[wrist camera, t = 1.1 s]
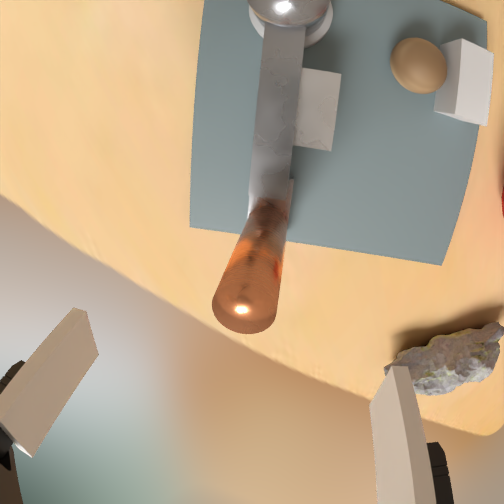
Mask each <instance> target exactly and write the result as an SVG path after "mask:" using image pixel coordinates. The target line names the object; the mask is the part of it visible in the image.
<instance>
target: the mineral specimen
mask: <svg viewBox="0 0 504 504" xmlns="http://www.w3.org/2000/svg"><path fill="white" fill-rule="evenodd" d="M503 334H504V327H503V326H501V325H500V324H499V322H492V323H489V324H487V325H485V326H484V327H483V329H481V330H480V329H471V328H467V329H465V330H461V331H458V332H454V333H452V334H450V335H438V336H435V337H433V338H432V339H431V340H430V341H429V343H428V345H427V346H425V347H424V346H420V347H413V348H411V349H408V350H404V351H403V352H399V353H398V355H397V359H396V360H394V361H393V362H392V363H391V364H389V365H387V366H385V367H384V371H385V376H386V375H387V373H388V372H389V370H390V368H391V366H408V369H409V373H410V376H411V380H412V384H413V387H414V391H415V394H425V395H441V394H446V393H449V392H451V391H453V390H454V389H455V387H456V386H460V385H461V384H463V383H465V382H467V383H468V382H469V381H470V382H474V381H476V382H481V381H482V380H484V378H486V377H488V376H489V375H490V374H491V373H492V371H493V369H494V366H495V363H496V361H497V359H498V356H499V353H500V349H499V348H500V345H499V343H498V341H499V340H500V338H501V337H502V336H503Z"/></svg>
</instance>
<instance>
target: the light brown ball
mask: <svg viewBox="0 0 504 504" xmlns="http://www.w3.org/2000/svg"><path fill="white" fill-rule="evenodd" d="M390 67H391V71H392V73H393V75H394V77H395V79H396V80H397V81H398V82H399V83H400V85H402V86H403V87H404V88H406V89H407V90H409V91H411V92H414V93H418V94H429V93H432V92H435V91H437V90H438V89H439V88H440V87H441V86H442V85H443V84H444V82H445V80H446V77H447V64H446V60H445V58H444V56H443V54H442V53H441V51H440V50H439V49H438V48H437V47H436V46H435V45H434V44H432V43H431V42H429V41H427V40H424V39H421V38H407V39H404V40H402V41H400V42H399V43H398V44H396V45H395V47H394V48H393V50H392V52H391V55H390Z"/></svg>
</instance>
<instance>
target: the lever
mask: <svg viewBox="0 0 504 504" xmlns="http://www.w3.org/2000/svg"><path fill="white" fill-rule="evenodd" d="M247 2H248V3H249V5H250V7H251V9H252V10H253V12H254V14H255V16H256V17H257V19H258V21H259V23H260V24H261V25H262V26H263V28H264V37H263V47H262V57H261V67H260V77H259V87H258V97H257V107H256V117H255V128H254V138H253V149H252V159H251V170H250V181H249V192H248V195H249V206H248V217H247V222H246V224H245V226H244V228H243V231H242V233H241V235H240V238H239V240H238V242H237V244H236V247H235V249H234V251H233V253H232V256H231V258H230V260H229V263H228V265H227V267H226V269H225V272H224V274H223V276H222V279H221V281H220V283H219V286H218V288H217V290H216V292H215V295H214V297H213V300H212V309H213V312H214V315H215V317H216V318H217V320H218V321H219V322H220V323H221V324H222V325H223V326H225V327H226V328H228V329H230V330H232V331H234V332H237V333H242V334H254V333H259V332H262V331H264V330H265V329H267V328H268V327H270V326H271V324H272V323H273V322H274V320H275V317H276V312H277V305H278V298H279V290H280V283H281V275H282V267H283V259H284V251H285V243H286V235H287V227H288V220H289V213H290V206H291V199H292V192H293V185H294V177H295V176H292V175H290V165H291V157H292V149H293V145H294V146H301V147H308V148H314V149H321V150H327V151H331V149H332V143H333V136H334V129H335V122H336V114H337V106H338V99H339V90H340V82H341V74H339V73H333V72H327V71H321V70H315V69H308V68H302V63H303V53H304V43H305V37H306V36H309V35H311V34H312V33H314V32H315V31H317V30H318V29H319V28H320V27H321V25H322V24H323V22H324V20H325V17H326V14H327V10H328V7H329V3H330V0H247Z"/></svg>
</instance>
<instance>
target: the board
mask: <svg viewBox="0 0 504 504" xmlns="http://www.w3.org/2000/svg"><path fill="white" fill-rule="evenodd" d="M263 37H264V28H263V26H262V25H261V24H260V23H259V21H258V19H257V17H256V16H255V14H254V12H253V10H252V9H251V7H250V5H249V3H248V2H247V0H205V1H204V9H203V17H202V26H201V35H200V44H199V54H198V65H197V77H196V89H195V103H194V118H193V136H192V158H191V187H190V227H192V228H200V229H207V230H214V231H221V232H228V233H235V234H241V233H242V231H243V228H244V226H245V224H246V222H247V217H248V206H249V195H248V192H249V181H250V170H251V159H252V149H253V138H254V128H255V117H256V107H257V97H258V87H259V77H260V67H261V57H262V47H263ZM407 38H421V39H424V40H427V41H429V42H431V43H432V44H434V45H435V46H436V47H437V48H438V49H439V50H440V51H441V53H442V54H443V56H444V58H445V60H446V64H447V77H446V80H445V82H444V84H443V85H442V86H441V87H440V88H439V89H438V90H437V91H435V92H432V93H429V94H418V93H414V92H411V91H409V90H407V89H406V88H404V87H403V86H402V85H400V83H399V82H398V81H397V80H396V79H395V77H394V75H393V73H392V71H391V67H390V55H391V52H392V50H393V48H394V47H395V45H396V44H398V43H399V42H400V41H402V40H404V39H407ZM493 61H494V53H492V52H490V51H488V50H487V21H485V20H483V19H481V18H479V17H477V16H475V15H472V14H470V13H468V12H466V11H464V10H462V9H459V8H457V7H455V6H453V5H450V4H448V3H445V2H443V1H440V0H330V3H329V7H328V10H327V14H326V17H325V20H324V22H323V24H322V25H321V27H320V28H319V29H318V30H317V31H315V32H314V33H312V34H311V35H309V36H306V37H305V43H304V53H303V63H302V68H308V69H315V70H321V71H327V72H333V73H339V74H341V82H340V90H339V99H338V106H337V114H336V122H335V129H334V136H333V143H332V149H331V151H327V150H321V149H314V148H308V147H301V146H294V145H293V149H292V157H291V165H290V175H292V176H295V177H294V185H293V192H292V199H291V206H290V213H289V220H288V227H287V235H286V241H290V242H296V243H303V244H310V245H316V246H323V247H329V248H336V249H342V250H349V251H355V252H361V253H367V254H374V255H380V256H386V257H392V258H398V259H405V260H411V261H417V262H423V263H429V264H434V265H440V266H442V263H443V260H444V258H445V255H446V252H447V249H448V246H449V244H450V241H451V238H452V235H453V232H454V228H455V225H456V222H457V219H458V216H459V212H460V209H461V205H462V202H463V198H464V194H465V191H466V187H467V183H468V179H469V174H470V170H471V166H472V161H473V157H474V152H475V147H476V141H477V136H478V130H479V125H482V126H486V127H487V121H488V114H489V107H490V98H491V89H492V77H493Z"/></svg>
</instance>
